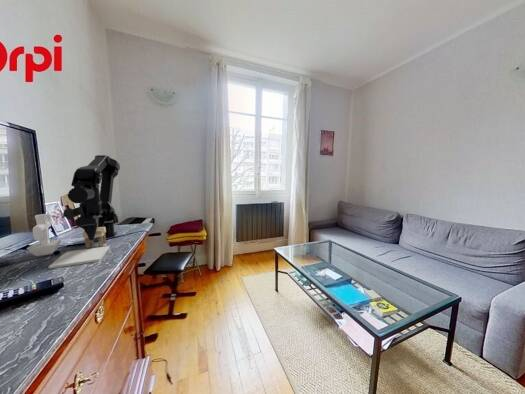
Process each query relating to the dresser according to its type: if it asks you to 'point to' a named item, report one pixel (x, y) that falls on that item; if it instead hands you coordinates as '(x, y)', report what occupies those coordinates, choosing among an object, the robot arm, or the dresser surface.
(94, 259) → the mat
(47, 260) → the dresser surface
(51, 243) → the figurine
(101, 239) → the tan pegged block
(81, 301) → the dresser surface
